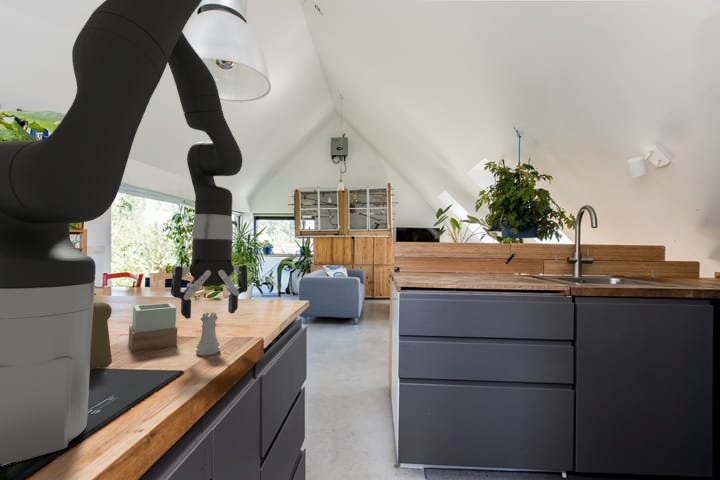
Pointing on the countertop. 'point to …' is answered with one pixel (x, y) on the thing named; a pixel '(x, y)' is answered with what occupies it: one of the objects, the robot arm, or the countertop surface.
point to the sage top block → (154, 317)
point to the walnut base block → (152, 339)
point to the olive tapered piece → (100, 336)
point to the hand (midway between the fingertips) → (210, 315)
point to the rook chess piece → (208, 336)
